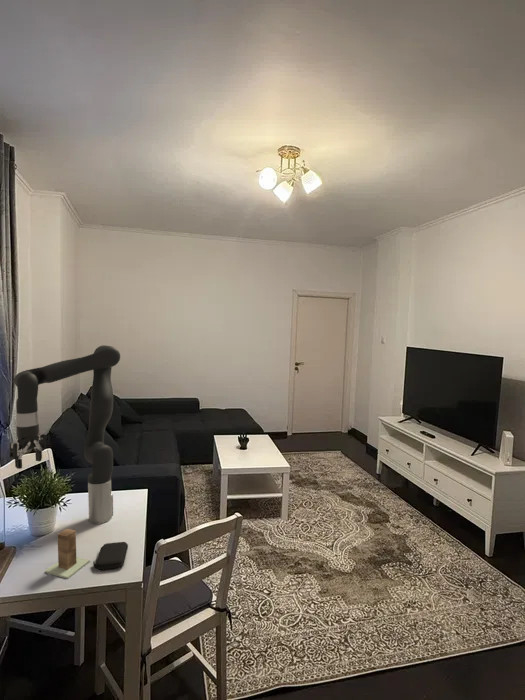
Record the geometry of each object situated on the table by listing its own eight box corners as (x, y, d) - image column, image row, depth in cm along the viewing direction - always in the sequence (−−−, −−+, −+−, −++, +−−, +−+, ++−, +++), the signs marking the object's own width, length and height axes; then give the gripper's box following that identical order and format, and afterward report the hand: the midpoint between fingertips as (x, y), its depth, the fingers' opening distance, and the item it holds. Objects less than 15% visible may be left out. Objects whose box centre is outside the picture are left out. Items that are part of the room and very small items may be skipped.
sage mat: (67, 556, 146) (67, 554, 146) (89, 561, 143) (89, 560, 143) (44, 572, 137) (44, 570, 137) (67, 578, 133) (67, 577, 133)
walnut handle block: (67, 560, 142) (66, 528, 141) (76, 563, 141) (75, 530, 140) (58, 567, 138) (57, 534, 138) (67, 569, 137) (66, 536, 136)
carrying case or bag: (99, 549, 151) (90, 574, 136) (99, 542, 151) (90, 565, 136) (128, 547, 153) (123, 570, 139) (128, 539, 153) (123, 562, 138)
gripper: (18, 429, 145) (19, 472, 147) (50, 419, 159) (51, 459, 160) (3, 427, 148) (4, 469, 149) (36, 418, 161) (37, 457, 163)
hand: (29, 464), depth 155 cm, fingers open, 8 cm apart
